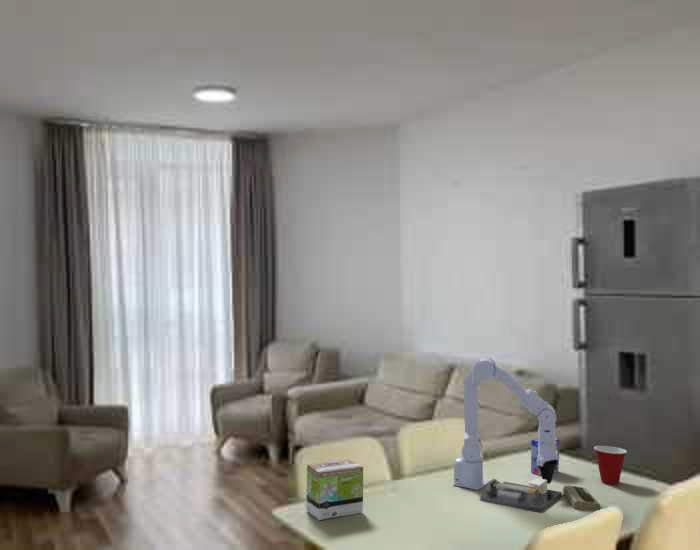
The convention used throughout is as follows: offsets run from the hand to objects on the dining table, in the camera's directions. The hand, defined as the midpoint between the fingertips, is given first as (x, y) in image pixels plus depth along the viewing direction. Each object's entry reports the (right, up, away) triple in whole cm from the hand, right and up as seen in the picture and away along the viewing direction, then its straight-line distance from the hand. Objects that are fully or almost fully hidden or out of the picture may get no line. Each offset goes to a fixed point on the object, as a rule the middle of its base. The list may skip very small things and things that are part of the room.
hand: (547, 482), depth 238 cm
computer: (+8, -4, -11) cm, 14 cm away
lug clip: (-5, -2, -7) cm, 8 cm away
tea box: (-71, -4, -19) cm, 73 cm away
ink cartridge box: (+5, -3, +21) cm, 22 cm away
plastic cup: (+24, -3, +8) cm, 26 cm away
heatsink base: (-10, -3, -7) cm, 13 cm away
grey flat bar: (-13, 0, -8) cm, 15 cm away
